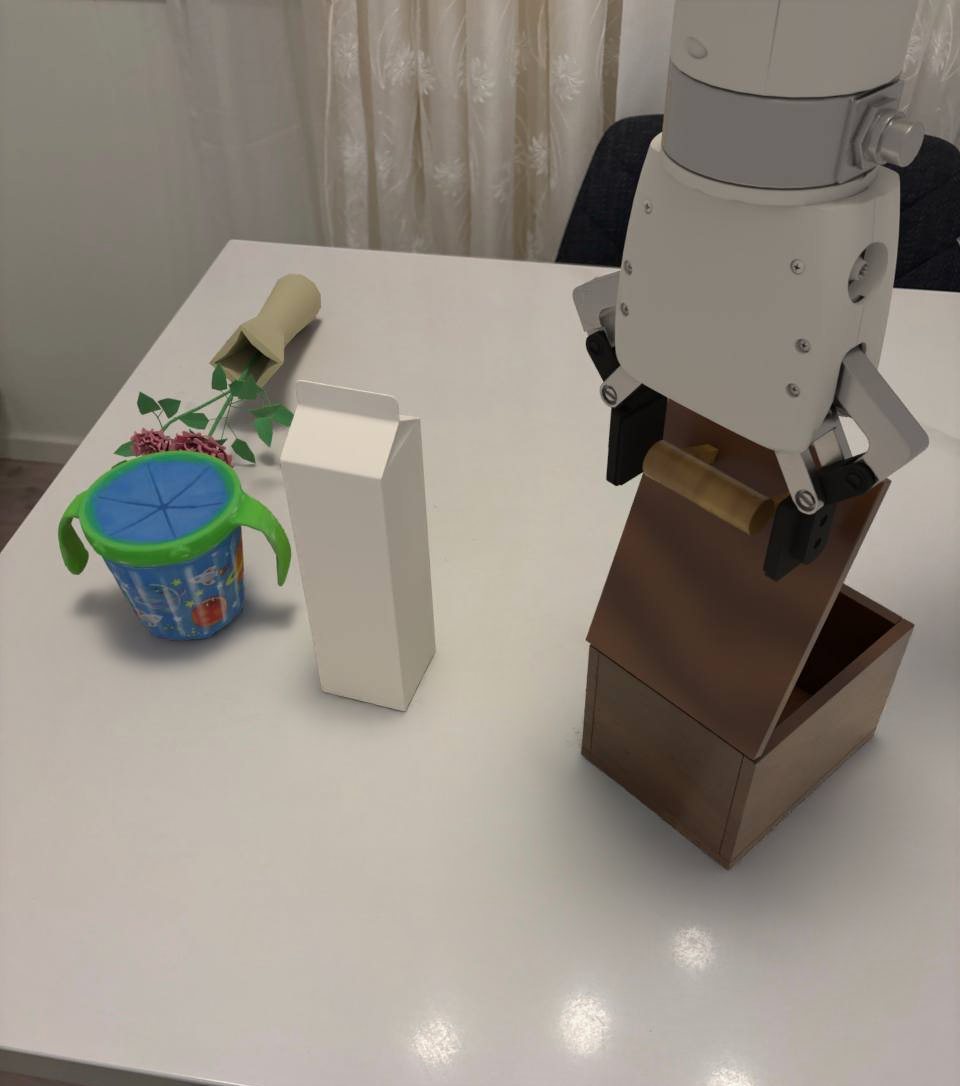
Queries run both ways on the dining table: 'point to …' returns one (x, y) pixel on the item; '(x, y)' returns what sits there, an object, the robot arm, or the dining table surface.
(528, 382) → the dining table surface
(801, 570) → the lid
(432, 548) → the dining table surface
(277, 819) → the dining table surface
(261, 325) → the flower vase
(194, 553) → the snack cup
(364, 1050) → the dining table surface
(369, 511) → the milk
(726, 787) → the chest
